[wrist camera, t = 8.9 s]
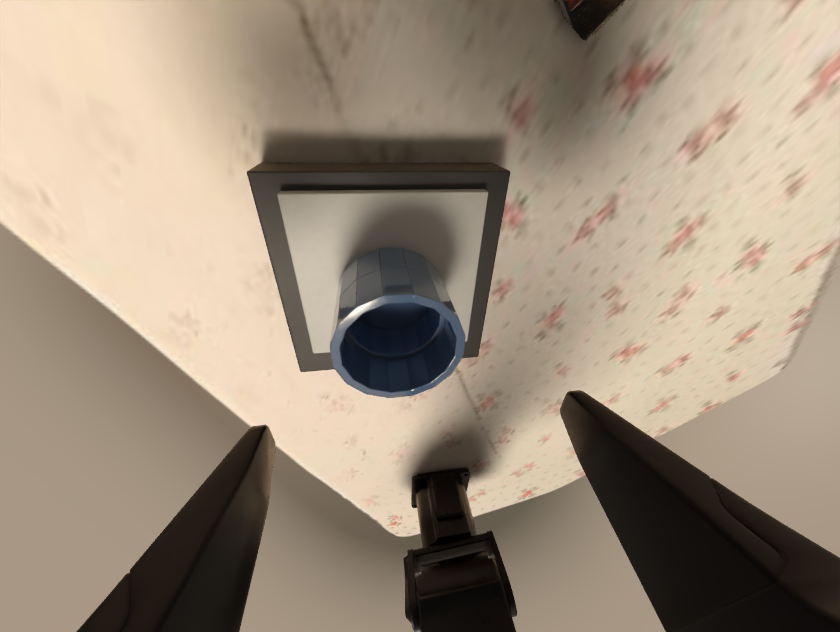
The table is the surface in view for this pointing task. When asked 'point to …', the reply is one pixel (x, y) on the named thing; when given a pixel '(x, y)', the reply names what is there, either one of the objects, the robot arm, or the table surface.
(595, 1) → the red black picture tile
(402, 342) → the small cup
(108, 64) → the table surface
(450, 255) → the kitchen scale
